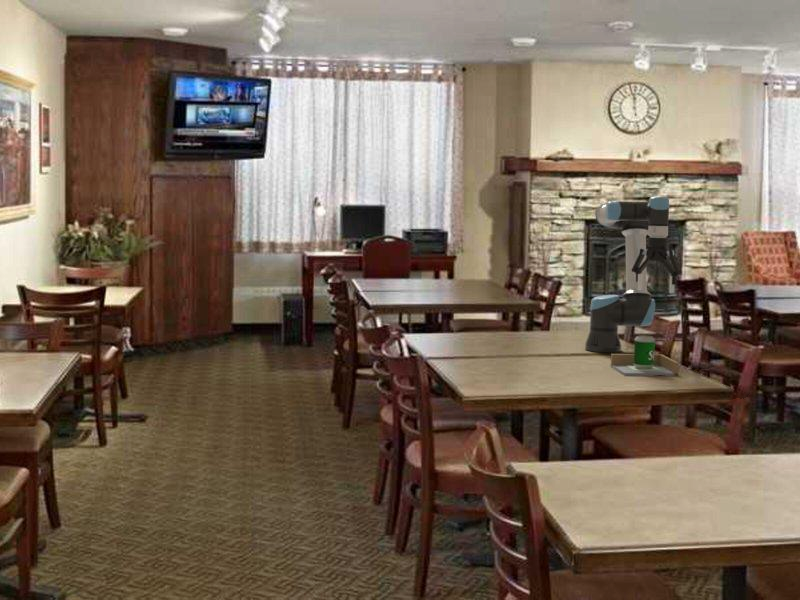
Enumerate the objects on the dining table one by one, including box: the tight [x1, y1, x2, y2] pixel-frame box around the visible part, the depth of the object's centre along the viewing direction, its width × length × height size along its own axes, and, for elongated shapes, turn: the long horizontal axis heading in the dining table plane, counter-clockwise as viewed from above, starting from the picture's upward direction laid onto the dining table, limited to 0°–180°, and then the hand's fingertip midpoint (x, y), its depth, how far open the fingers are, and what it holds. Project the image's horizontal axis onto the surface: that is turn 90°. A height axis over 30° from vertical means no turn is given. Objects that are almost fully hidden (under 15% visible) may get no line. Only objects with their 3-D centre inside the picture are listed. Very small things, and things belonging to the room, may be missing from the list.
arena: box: [610, 353, 680, 377], centre depth 400 cm, size 20×20×5 cm
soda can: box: [633, 335, 656, 369], centre depth 399 cm, size 8×8×12 cm
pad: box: [627, 366, 661, 371], centre depth 400 cm, size 10×10×1 cm
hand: (655, 291), depth 413 cm, fingers open, 13 cm apart
